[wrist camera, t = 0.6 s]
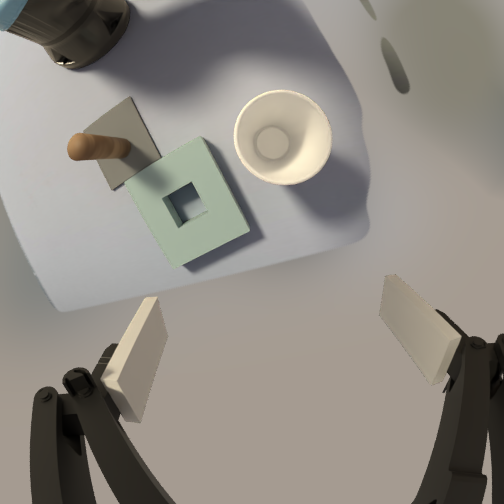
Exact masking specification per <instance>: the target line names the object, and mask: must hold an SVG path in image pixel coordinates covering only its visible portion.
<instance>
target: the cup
mask: <svg viewBox="0 0 504 504" xmlns="http://www.w3.org/2000/svg"><path fill="white" fill-rule="evenodd" d="M234 143H235V148H236V151H237V154H238V156H239V158H240V160H241V162H242V163H243V165H244V166H245V167H246V168H247V169H248V170H249V171H250V172H251V173H252V174H254V175H255V176H256V177H258V178H260V179H261V180H263V181H265V182H269V183H272V184H276V185H294V184H298V183H301V182H304V181H306V180H308V179H310V178H312V177H313V176H314V175H316V174H317V173H318V172H319V171H320V170H321V169H322V168H323V166H324V165H325V163H326V162H327V160H328V158H329V155H330V152H331V149H332V130H331V127H330V123H329V120H328V119H327V117H326V115H325V113H324V112H323V110H322V109H321V108H320V107H319V106H318V105H317V104H316V103H315V102H314V101H313V100H311V99H310V98H308V97H306V96H304V95H303V94H300V93H297V92H294V91H288V90H274V91H269V92H266V93H263V94H261V95H259V96H257V97H255V98H254V99H252V100H251V101H250V102H248V103H247V105H246V106H245V107H244V108H243V109H242V111H241V112H240V114H239V116H238V118H237V121H236V124H235V128H234Z"/></svg>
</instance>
